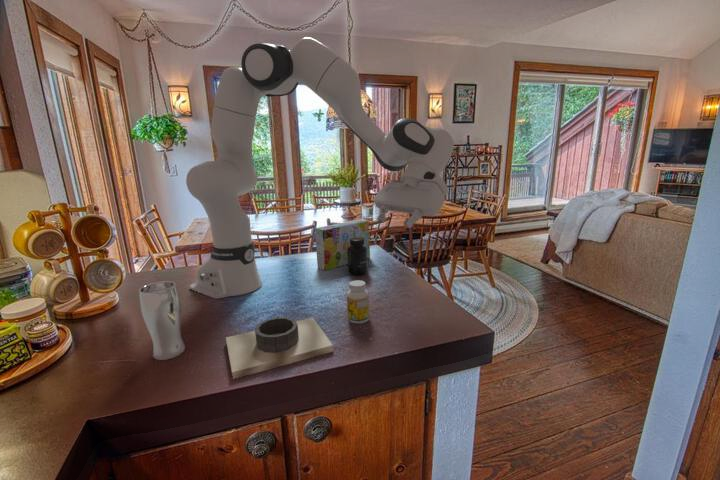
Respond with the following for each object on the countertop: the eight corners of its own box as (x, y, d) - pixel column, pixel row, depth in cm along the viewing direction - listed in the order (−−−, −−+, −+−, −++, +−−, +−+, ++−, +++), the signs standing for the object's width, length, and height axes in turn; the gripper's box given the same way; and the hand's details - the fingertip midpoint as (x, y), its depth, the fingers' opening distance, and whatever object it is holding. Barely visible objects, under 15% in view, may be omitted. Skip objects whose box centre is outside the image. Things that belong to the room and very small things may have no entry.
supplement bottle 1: (365, 276, 115) (364, 241, 112) (345, 275, 117) (344, 241, 114) (369, 269, 122) (368, 236, 119) (350, 268, 123) (349, 236, 120)
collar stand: (233, 379, 65) (229, 355, 63) (226, 343, 77) (223, 323, 76) (333, 351, 73) (332, 330, 72) (312, 323, 85) (311, 304, 84)
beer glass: (162, 365, 70) (148, 296, 66) (144, 355, 73) (130, 289, 70) (194, 348, 75) (183, 284, 72) (175, 340, 79) (164, 278, 75)
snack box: (361, 255, 139) (360, 218, 135) (370, 258, 135) (369, 220, 131) (316, 267, 126) (314, 227, 122) (325, 271, 122) (323, 229, 118)
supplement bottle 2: (372, 321, 85) (372, 285, 83) (352, 326, 83) (351, 288, 81) (364, 312, 90) (363, 277, 87) (344, 316, 88) (343, 281, 86)
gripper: (383, 173, 98) (359, 212, 94) (444, 175, 83) (418, 221, 79) (394, 187, 102) (371, 225, 98) (454, 191, 87) (429, 236, 83)
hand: (392, 223), depth 89 cm, fingers open, 8 cm apart
